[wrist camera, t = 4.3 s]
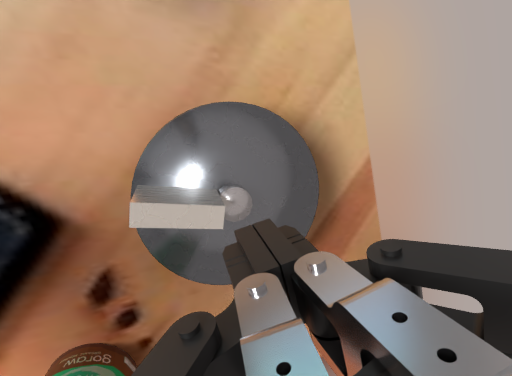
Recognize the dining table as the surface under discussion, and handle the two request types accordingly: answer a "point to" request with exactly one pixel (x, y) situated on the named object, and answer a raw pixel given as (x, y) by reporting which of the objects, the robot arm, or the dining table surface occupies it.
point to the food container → (93, 362)
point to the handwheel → (219, 185)
